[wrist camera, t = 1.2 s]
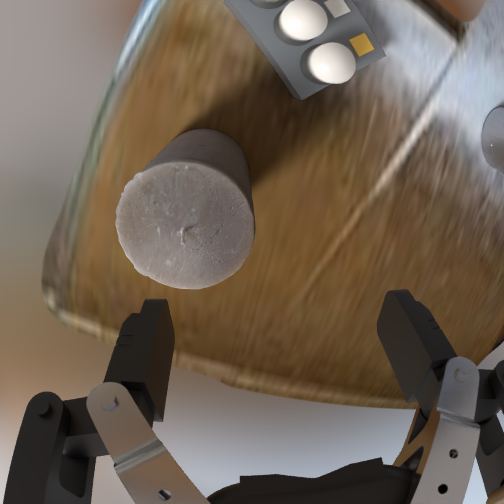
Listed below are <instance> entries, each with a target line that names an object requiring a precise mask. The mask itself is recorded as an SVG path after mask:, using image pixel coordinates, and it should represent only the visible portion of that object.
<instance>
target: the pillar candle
mask: <svg viewBox="0 0 504 504" xmlns="http://www.w3.org/2000/svg"><path fill="white" fill-rule="evenodd" d="M121 194H122V197H121V198H120V202H119V204H118V207H117V208H116V213H117V218H116V223H115V225H116V227H117V233H118V236H119V242H120V244H121V246H122V248H123V249H124V251H125V254H126V256H127V257H128V258H129V259H130V261H131V262H132V263H133V264H134V268H135V269H136V270H137V271H138V272H139V273H141V274H142V275H144V276H149V277H150V278H152V279H154V280H156V281H157V282H159V283H162V284H164V285H168V286H171V287H175V288H182V289H202V288H205V287H209V286H212V285H215V284H217V283H219V282H221V281H223V280H225V279H227V278H228V277H230V276H231V275H233V274H234V273H235V272H236V271H237V270H238V269H240V268H241V266H242V264H243V263H244V262H245V260H246V258H247V257H248V255H249V253H250V251H251V248H252V245H253V241H254V237H255V216H254V208H253V201H252V192H251V185H250V175H249V165H248V164H247V161H246V158H245V153H244V151H243V150H242V148H241V147H240V146H239V145H238V143H237V142H236V141H235V140H233V139H232V138H231V137H229V136H228V135H226V134H224V133H222V132H219V131H216V130H212V129H195V130H191V131H188V132H185V133H183V134H181V135H179V136H177V137H176V138H175V139H173V140H172V141H171V142H170V143H169V144H168V145H167V146H166V147H165V148H164V149H163V150H162V151H161V152H160V153H159V154H158V155H157V156H156V157H155V158H154V159H153V160H152V161H151V162H150V163H149V164H148V165H147V166H146V167H145V168H144V169H143V170H142V171H141V172H139V173H137V174H136V175H135V176H134V179H132V180H131V181H129V182H128V183H127V184H126V186H125V188H124V192H123V193H121Z"/></svg>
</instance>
